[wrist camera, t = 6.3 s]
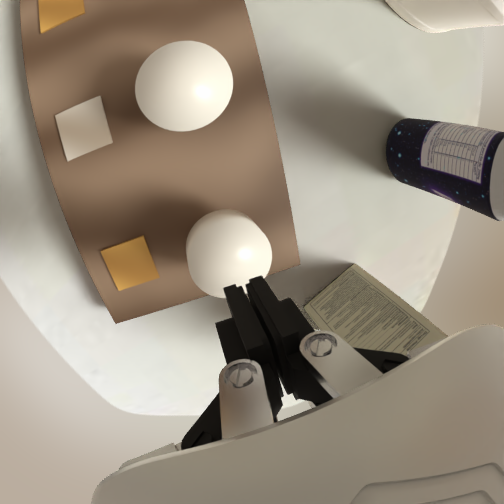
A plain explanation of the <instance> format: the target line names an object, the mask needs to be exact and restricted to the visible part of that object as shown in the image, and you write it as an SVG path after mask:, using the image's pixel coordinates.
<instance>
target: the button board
mask: <svg viewBox="0 0 504 504" xmlns="http://www.w3.org/2000/svg"><path fill="white" fill-rule="evenodd" d="M20 21H21V36H22V47H23V56H24V64H25V71H26V78H27V84H28V89H29V95H30V100H31V105H32V110H33V114H34V119H35V123H36V127H37V131H38V135H39V139H40V143H41V146H42V150H43V154H44V157H45V160H46V164H47V167H48V170H49V173H50V177H51V180H52V183H53V186H54V189H55V191H56V194H57V197H58V200H59V203H60V205H61V208H62V211H63V213H64V216H65V219H66V221H67V224H68V226H69V229H70V231H71V233H72V236H73V238H74V241H75V243H76V245H77V248H78V250H79V252H80V254H81V257H82V259H83V261H84V263H85V265H86V267H87V270H88V272H89V274H90V276H91V278H92V280H93V282H94V284H95V286H96V288H97V290H98V292H99V294H100V296H101V298H102V300H103V302H104V303H105V305H106V307H107V309H108V311H109V313H110V315H111V316H112V318H113V320H114V322H115V323H116V324H117V323H120V322H123V321H127V320H130V319H133V318H137V317H140V316H143V315H146V314H150V313H153V312H156V311H160V310H163V309H166V308H169V307H172V306H176V305H179V304H182V303H185V302H188V301H191V300H195V299H198V298H201V297H204V296H207V295H209V294H207V293H205V292H204V291H202V290H201V289H200V288H199V287H198V286H197V285H196V284H195V283H194V281H193V279H192V277H191V275H190V272H189V267H188V261H187V255H186V241H187V237H188V234H189V232H190V230H191V229H192V227H193V226H194V224H195V223H196V222H197V221H198V220H199V219H200V218H202V217H203V216H205V215H207V214H209V213H211V212H214V211H217V210H235V211H238V212H241V213H243V214H245V215H247V216H248V217H249V218H250V219H252V220H253V222H254V223H255V224H256V225H257V226H258V227H259V228H260V230H261V231H262V232H263V233H264V234H265V235H266V237H267V239H268V241H269V243H270V246H271V250H272V262H271V266H270V269H269V272H268V274H267V275H266V276H268V275H271V274H274V273H277V272H280V271H283V270H286V269H289V268H291V267H294V266H297V265H300V259H299V253H298V247H297V241H296V235H295V229H294V223H293V217H292V211H291V206H290V200H289V195H288V190H287V184H286V179H285V174H284V169H283V163H282V158H281V153H280V148H279V143H278V139H277V134H276V129H275V124H274V120H273V115H272V111H271V106H270V101H269V97H268V93H267V88H266V84H265V80H264V75H263V71H262V67H261V63H260V59H259V55H258V51H257V47H256V43H255V39H254V35H253V31H252V27H251V23H250V20H249V16H248V12H247V8H246V5H245V1H244V0H20ZM178 41H196V42H201V43H204V44H206V45H208V46H211V47H212V48H214V49H215V50H217V51H218V52H219V53H220V54H221V55H222V56H223V57H224V58H225V60H226V61H227V63H228V65H229V67H230V69H231V72H232V77H233V90H232V95H231V98H230V100H229V103H228V105H227V106H226V108H225V109H224V111H223V112H222V113H221V114H220V115H219V116H218V117H217V118H216V119H215V120H214V121H212V122H211V123H209V124H208V125H206V126H204V127H202V128H199V129H196V130H191V131H183V132H182V131H171V130H167V129H164V128H161V127H159V126H157V125H156V124H154V123H152V122H151V121H150V120H149V119H148V118H147V117H146V116H145V115H144V114H143V112H142V111H141V109H140V107H139V105H138V103H137V100H136V95H135V83H136V78H137V74H138V72H139V70H140V68H141V66H142V64H143V63H144V62H145V60H146V59H147V58H148V57H149V56H150V55H151V54H152V53H153V52H155V51H156V50H157V49H159V48H161V47H162V46H165V45H167V44H170V43H173V42H178Z"/></svg>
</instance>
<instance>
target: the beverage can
mask: <svg viewBox="0 0 504 504" xmlns="http://www.w3.org/2000/svg"><path fill="white" fill-rule="evenodd" d="M386 157H387V163H388V166H389V169H390V171H391V173H392V174H393V176H394V177H395V178H396V179H397V180H398V181H400V182H402V183H405V184H408V185H410V186H413V187H416V188H419V189H422V190H424V191H427V192H430V193H432V194H435V195H438V196H440V197H443V198H445V199H448V200H450V201H453V202H455V203H458V204H460V205H463V206H465V207H468V208H470V209H472V210H475V211H477V212H479V213H481V214H484V215H486V216H488V217H491V218H493V219H495V220H497V221H502V220H504V132H500V131H495V130H490V129H484V128H480V127H474V126H468V125H461V124H455V123H447V122H440V121H431V120H421V119H410V118H407V119H403V120H401V121H399V122H398V123H397V124H396V125H395V126H394V127H393V128H392V130H391V132H390V134H389V137H388V140H387V145H386Z"/></svg>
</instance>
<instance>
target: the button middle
mask: <svg viewBox="0 0 504 504" xmlns="http://www.w3.org/2000/svg"><path fill="white" fill-rule="evenodd" d="M232 90H233V77H232V72H231V69H230V67H229V65H228V63H227V61H226V60H225V58H224V57H223V56H222V55H221V54H220V53H219V52H218V51H217V50H215V49H214V48H212V47H211V46H208V45H206V44H204V43H201V42H196V41H178V42H173V43H170V44H167V45H165V46H162V47H161V48H159V49H157V50H156V51H155V52H153V53H152V54H151V55H150V56H149V57H148V58H147V59H146V60H145V62H144V63H143V64H142V66H141V68H140V70H139V72H138V74H137V78H136V83H135V95H136V100H137V103H138V105H139V107H140V109H141V111H142V112H143V114H144V115H145V116H146V117H147V118H148V119H149V120H150V121H151V122H152V123H154V124H156V125H157V126H159V127H161V128H164V129H167V130H171V131H182V132H183V131H191V130H196V129H199V128H202V127H204V126H206V125H208V124H209V123H211V122H212V121H214V120H215V119H216V118H217V117H218V116H219V115H220V114H221V113H222V112H223V111H224V109H225V108H226V106H227V105H228V103H229V100H230V98H231V95H232Z"/></svg>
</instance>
